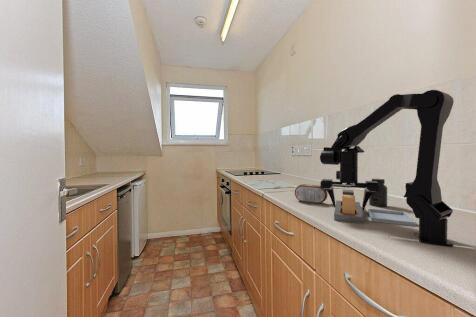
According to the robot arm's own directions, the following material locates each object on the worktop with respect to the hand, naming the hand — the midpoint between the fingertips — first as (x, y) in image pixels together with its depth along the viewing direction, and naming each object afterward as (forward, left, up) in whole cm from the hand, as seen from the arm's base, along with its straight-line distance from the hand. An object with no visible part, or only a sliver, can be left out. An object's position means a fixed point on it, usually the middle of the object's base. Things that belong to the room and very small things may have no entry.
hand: (348, 208), depth 79 cm
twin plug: (+12, 0, -4) cm, 13 cm away
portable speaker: (+21, +16, -4) cm, 27 cm away
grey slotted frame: (+6, 0, -4) cm, 7 cm away
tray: (+5, -13, -4) cm, 14 cm away
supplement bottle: (+25, -12, -4) cm, 28 cm away
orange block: (0, 0, -4) cm, 4 cm away
